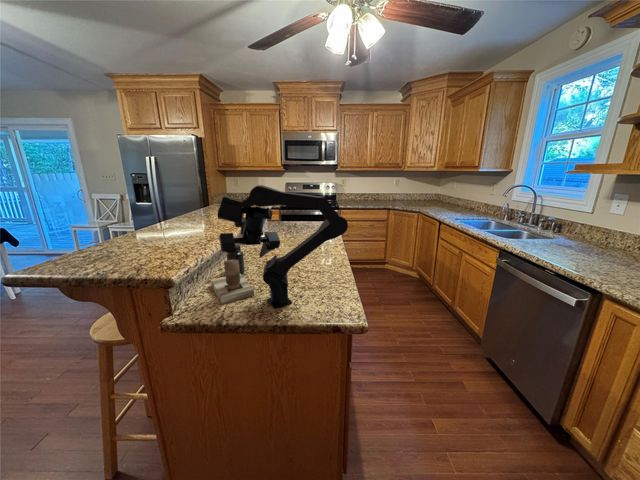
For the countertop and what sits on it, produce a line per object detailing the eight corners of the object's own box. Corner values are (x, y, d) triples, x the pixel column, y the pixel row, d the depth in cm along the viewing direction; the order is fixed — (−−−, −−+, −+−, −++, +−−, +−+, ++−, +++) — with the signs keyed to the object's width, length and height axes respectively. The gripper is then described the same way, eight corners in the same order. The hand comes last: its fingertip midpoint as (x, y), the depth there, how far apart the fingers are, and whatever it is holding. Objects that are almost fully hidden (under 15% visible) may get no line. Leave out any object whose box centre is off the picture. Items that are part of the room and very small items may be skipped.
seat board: (254, 295, 88) (253, 288, 87) (222, 304, 82) (221, 297, 82) (240, 279, 101) (239, 273, 100) (211, 285, 95) (210, 279, 94)
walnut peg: (243, 294, 89) (240, 262, 86) (229, 297, 86) (226, 265, 83) (239, 288, 93) (236, 258, 89) (225, 292, 90) (222, 261, 87)
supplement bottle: (247, 273, 107) (246, 246, 104) (233, 277, 102) (230, 249, 99) (239, 268, 111) (237, 242, 108) (225, 272, 107) (222, 246, 103)
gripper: (276, 208, 86) (267, 240, 96) (218, 207, 77) (215, 242, 87) (285, 230, 79) (275, 262, 89) (223, 232, 70) (219, 267, 80)
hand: (247, 257), depth 87 cm, fingers open, 9 cm apart
